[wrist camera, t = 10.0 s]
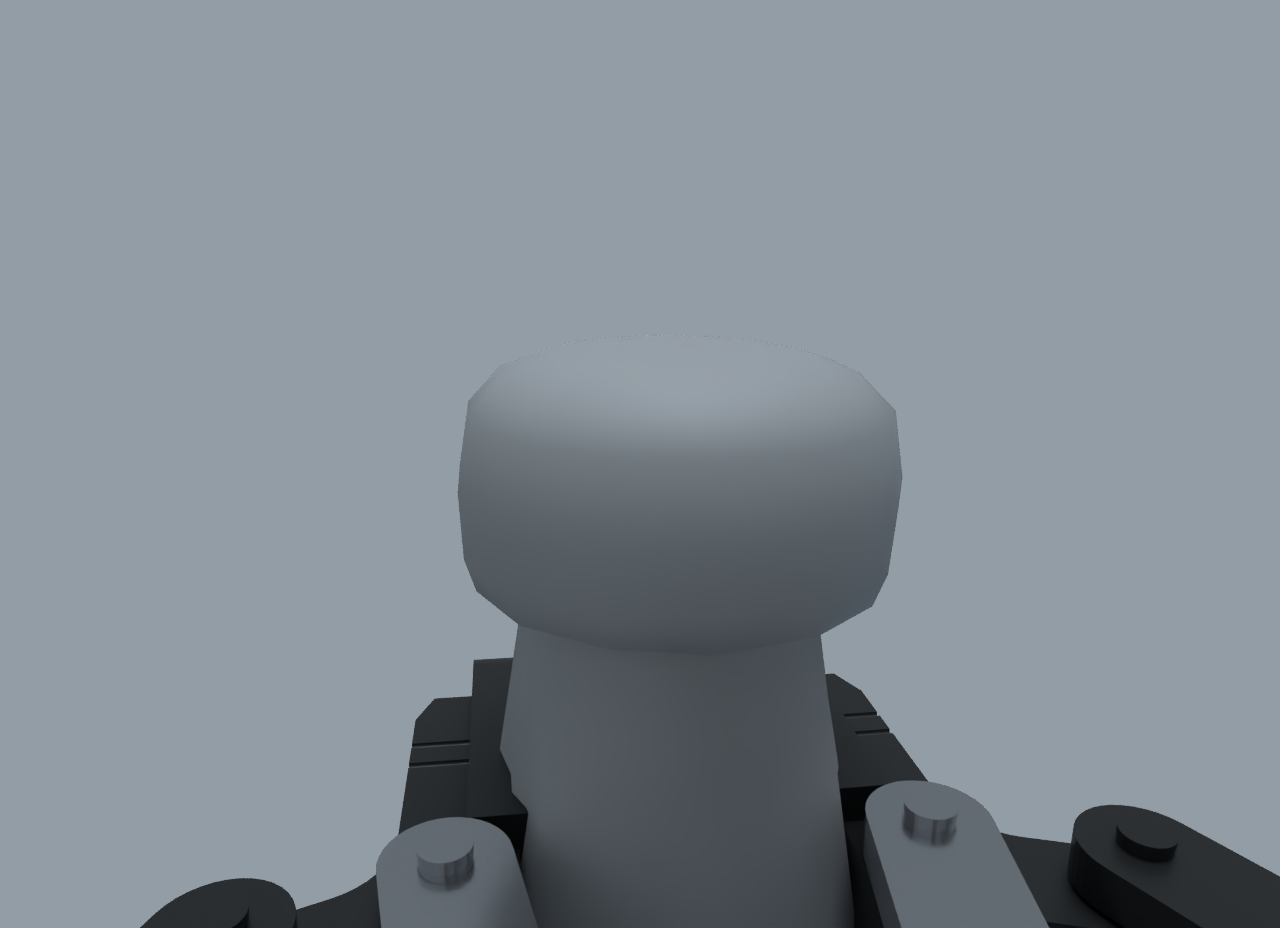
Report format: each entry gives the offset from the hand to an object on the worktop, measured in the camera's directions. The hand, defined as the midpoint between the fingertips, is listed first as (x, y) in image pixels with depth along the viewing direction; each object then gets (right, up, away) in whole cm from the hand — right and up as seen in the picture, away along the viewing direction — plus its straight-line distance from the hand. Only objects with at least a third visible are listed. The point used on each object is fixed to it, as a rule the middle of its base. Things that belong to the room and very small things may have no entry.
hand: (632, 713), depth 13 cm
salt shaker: (0, -8, -1) cm, 8 cm away
